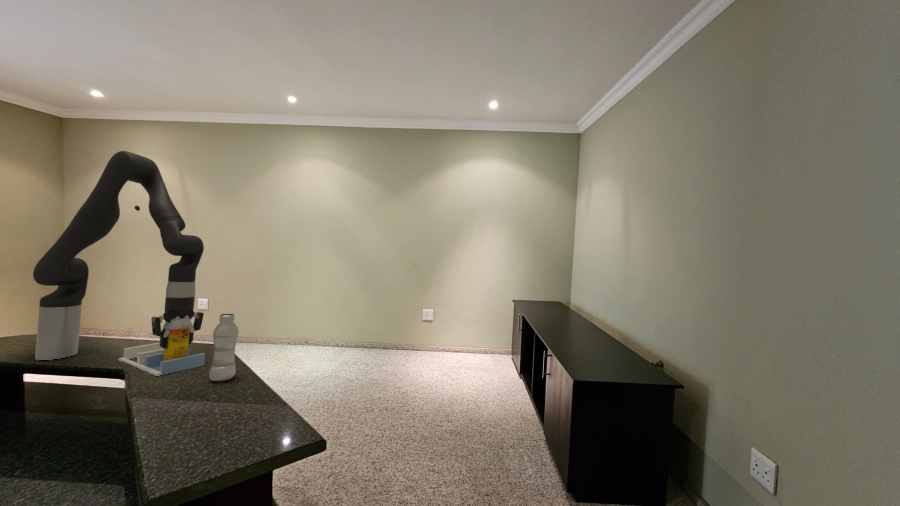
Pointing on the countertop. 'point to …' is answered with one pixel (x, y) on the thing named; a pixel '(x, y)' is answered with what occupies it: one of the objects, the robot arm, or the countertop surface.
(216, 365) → the plastic bottle
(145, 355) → the rack
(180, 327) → the beer can
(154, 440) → the countertop surface
